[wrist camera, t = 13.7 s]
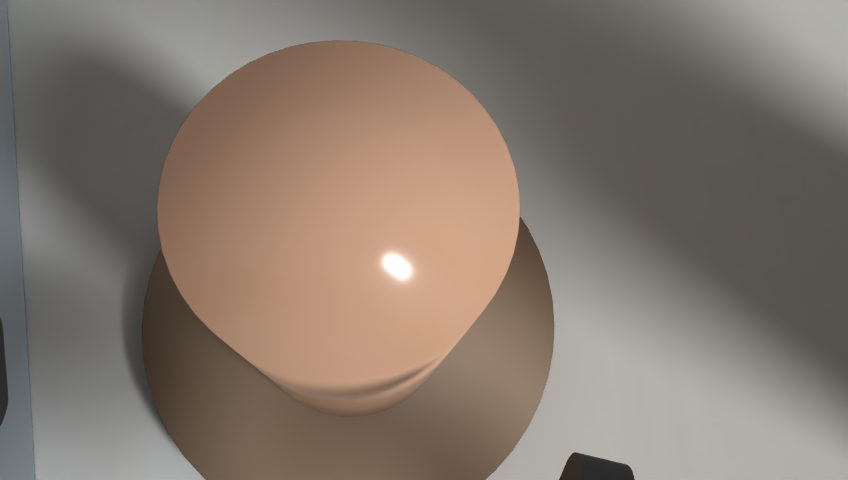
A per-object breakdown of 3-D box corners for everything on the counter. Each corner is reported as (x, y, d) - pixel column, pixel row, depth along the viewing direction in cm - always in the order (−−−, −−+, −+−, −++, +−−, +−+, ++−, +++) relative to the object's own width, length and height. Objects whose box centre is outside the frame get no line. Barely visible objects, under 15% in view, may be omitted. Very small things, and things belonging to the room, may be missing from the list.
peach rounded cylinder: (362, 192, 22) (361, -18, 12) (487, 326, 21) (592, 214, 11) (216, 310, 20) (81, 177, 11) (342, 460, 19) (319, 463, 10)
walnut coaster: (372, 75, 24) (372, 60, 23) (623, 335, 22) (635, 329, 21) (69, 302, 21) (55, 294, 20) (330, 628, 19) (329, 638, 18)
